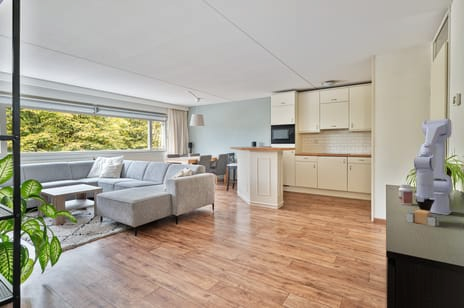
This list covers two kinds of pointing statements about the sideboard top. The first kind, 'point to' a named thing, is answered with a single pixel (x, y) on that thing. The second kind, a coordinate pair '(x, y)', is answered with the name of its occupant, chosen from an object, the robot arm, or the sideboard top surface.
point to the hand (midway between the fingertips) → (425, 216)
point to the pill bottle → (405, 194)
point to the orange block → (421, 216)
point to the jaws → (430, 220)
